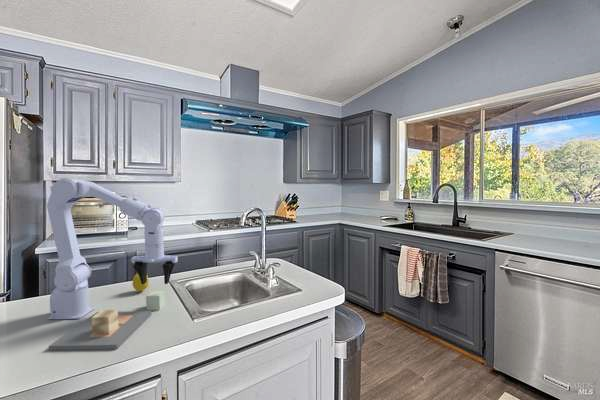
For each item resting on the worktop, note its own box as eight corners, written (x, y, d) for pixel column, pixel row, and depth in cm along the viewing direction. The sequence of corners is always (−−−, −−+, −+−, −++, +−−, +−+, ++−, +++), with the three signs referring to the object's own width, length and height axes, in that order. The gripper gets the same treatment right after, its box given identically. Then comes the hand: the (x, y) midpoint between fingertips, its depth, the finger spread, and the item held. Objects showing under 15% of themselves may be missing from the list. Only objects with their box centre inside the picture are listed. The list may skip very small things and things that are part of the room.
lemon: (144, 288, 116) (144, 268, 115) (151, 291, 113) (151, 271, 112) (130, 292, 111) (129, 272, 111) (137, 295, 108) (136, 275, 108)
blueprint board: (49, 350, 74) (48, 345, 73) (97, 315, 92) (97, 311, 92) (117, 349, 74) (116, 344, 74) (151, 314, 93) (151, 310, 93)
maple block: (92, 335, 78) (91, 317, 78) (102, 326, 83) (102, 310, 83) (109, 334, 79) (108, 317, 78) (118, 326, 83) (117, 309, 83)
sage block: (146, 310, 96) (146, 296, 96) (152, 304, 101) (152, 291, 100) (159, 310, 97) (159, 296, 96) (165, 304, 101) (164, 290, 101)
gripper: (125, 246, 93) (127, 287, 94) (171, 246, 93) (172, 287, 94) (137, 242, 100) (138, 280, 101) (179, 241, 101) (180, 279, 101)
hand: (155, 283), depth 98 cm, fingers open, 7 cm apart
